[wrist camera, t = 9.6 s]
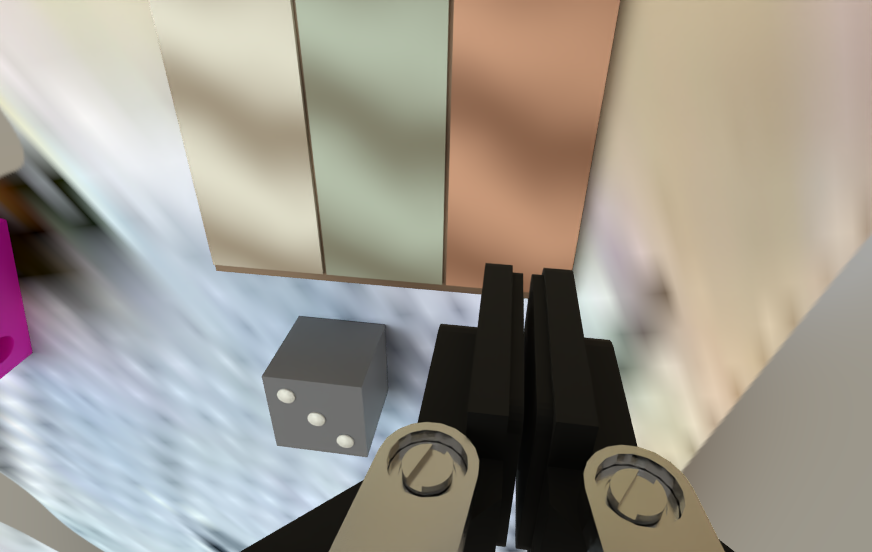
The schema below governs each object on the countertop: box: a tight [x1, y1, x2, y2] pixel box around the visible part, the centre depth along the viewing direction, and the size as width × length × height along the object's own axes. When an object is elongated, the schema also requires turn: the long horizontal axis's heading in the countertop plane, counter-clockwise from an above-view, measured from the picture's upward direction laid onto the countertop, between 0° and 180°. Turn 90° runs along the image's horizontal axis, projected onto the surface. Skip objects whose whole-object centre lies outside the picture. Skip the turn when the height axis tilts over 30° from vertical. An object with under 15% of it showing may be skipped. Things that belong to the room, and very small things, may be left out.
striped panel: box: [148, 0, 621, 299], centre depth 22 cm, size 17×18×1 cm
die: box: [262, 316, 388, 457], centre depth 28 cm, size 5×5×5 cm
